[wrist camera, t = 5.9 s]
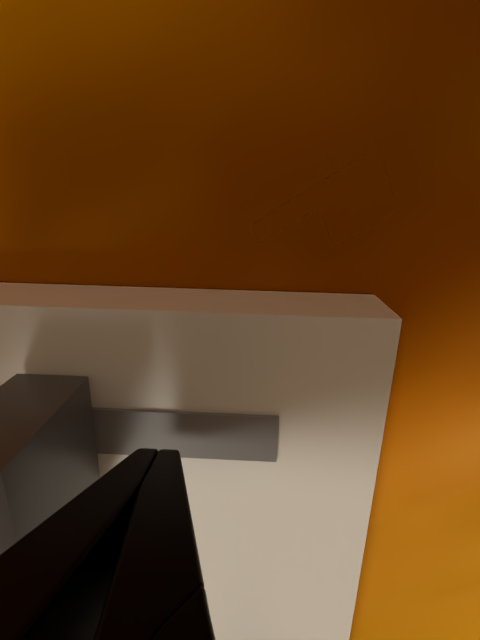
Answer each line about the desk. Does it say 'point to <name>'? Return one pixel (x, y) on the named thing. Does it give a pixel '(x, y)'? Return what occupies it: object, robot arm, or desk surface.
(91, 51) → the desk surface
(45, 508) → the lever tagged
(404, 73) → the desk surface
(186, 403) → the panel
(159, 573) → the robot arm
